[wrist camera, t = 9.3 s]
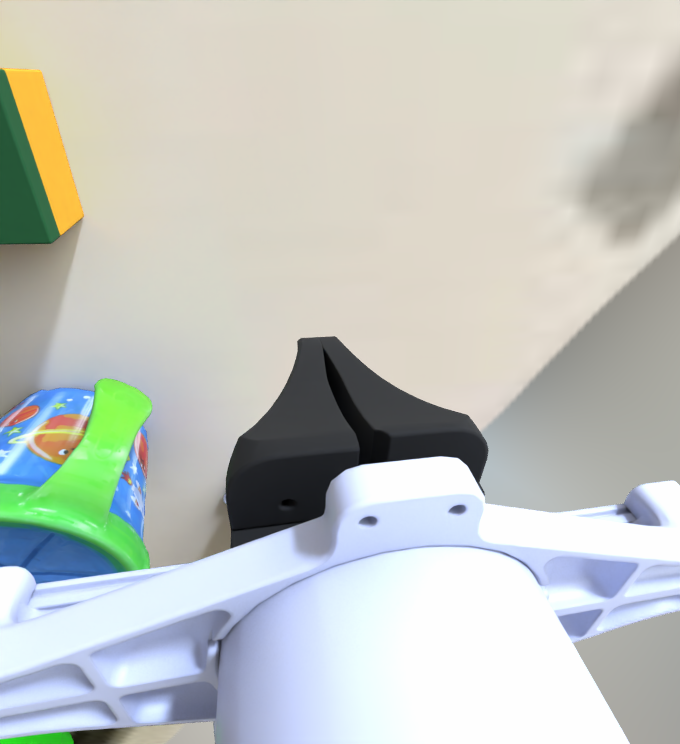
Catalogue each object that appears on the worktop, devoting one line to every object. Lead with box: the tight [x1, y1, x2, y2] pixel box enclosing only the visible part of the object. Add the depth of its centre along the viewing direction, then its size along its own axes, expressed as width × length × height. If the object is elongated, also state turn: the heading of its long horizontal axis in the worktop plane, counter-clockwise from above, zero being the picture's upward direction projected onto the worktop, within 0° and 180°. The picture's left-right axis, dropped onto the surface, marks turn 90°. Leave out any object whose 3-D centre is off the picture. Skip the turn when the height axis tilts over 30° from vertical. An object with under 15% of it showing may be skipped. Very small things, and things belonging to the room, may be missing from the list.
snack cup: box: [0, 378, 152, 584], centre depth 22 cm, size 16×11×10 cm
